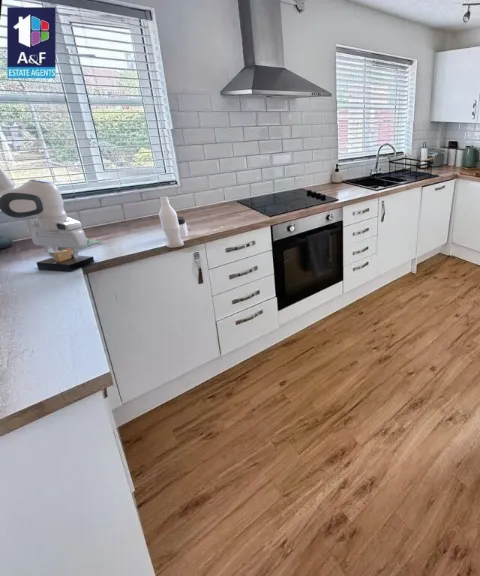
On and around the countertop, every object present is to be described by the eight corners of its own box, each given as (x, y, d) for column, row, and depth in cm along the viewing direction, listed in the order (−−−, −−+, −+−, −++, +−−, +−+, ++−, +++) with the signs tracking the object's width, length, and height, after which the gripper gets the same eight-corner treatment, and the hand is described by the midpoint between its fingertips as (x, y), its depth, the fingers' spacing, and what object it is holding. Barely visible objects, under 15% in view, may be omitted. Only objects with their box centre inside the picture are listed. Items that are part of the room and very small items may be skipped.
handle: (60, 261, 145) (57, 252, 143) (55, 261, 145) (53, 252, 144) (74, 257, 151) (72, 248, 149) (70, 256, 151) (67, 248, 150)
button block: (59, 251, 167) (56, 242, 165) (83, 243, 179) (81, 235, 177) (79, 252, 166) (77, 244, 164) (102, 245, 178) (100, 236, 176)
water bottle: (171, 253, 170) (157, 199, 159) (165, 250, 174) (152, 197, 164) (187, 250, 175) (175, 197, 164) (181, 246, 179) (169, 194, 168)
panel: (38, 269, 144) (36, 262, 143) (63, 261, 155) (61, 254, 153) (71, 272, 143) (69, 264, 142) (94, 263, 154) (92, 256, 152)
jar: (174, 239, 191) (169, 216, 186) (191, 238, 193) (186, 215, 188) (168, 244, 183) (162, 221, 178) (186, 243, 185) (180, 220, 180)
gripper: (21, 222, 140) (32, 257, 145) (71, 226, 139) (81, 261, 144) (37, 219, 146) (47, 253, 151) (85, 222, 145) (94, 256, 150)
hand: (64, 257), depth 148 cm, fingers open, 8 cm apart
